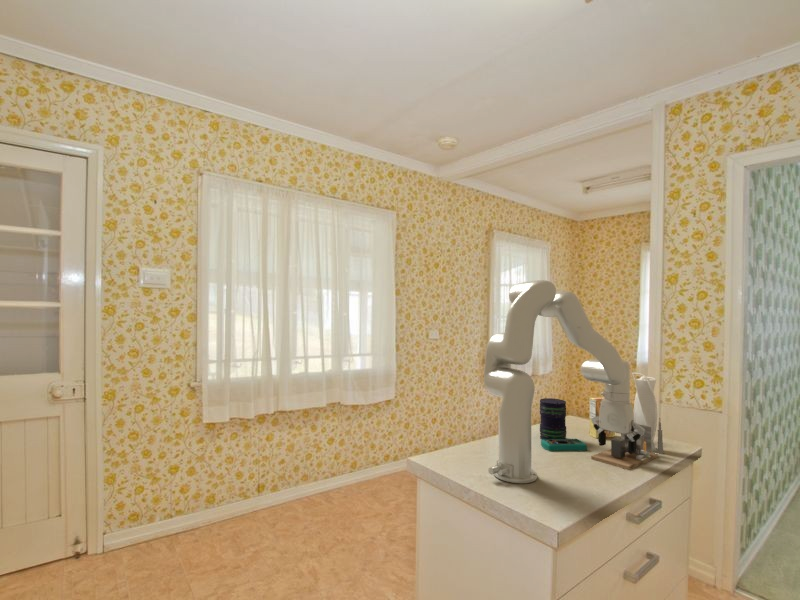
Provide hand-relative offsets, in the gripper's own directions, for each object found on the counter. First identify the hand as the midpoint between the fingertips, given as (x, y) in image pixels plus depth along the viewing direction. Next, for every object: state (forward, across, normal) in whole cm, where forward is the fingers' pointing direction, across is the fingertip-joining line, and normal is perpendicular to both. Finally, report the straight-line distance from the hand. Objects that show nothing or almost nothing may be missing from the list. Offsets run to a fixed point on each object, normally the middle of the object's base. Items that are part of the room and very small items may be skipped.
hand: (616, 448), depth 138 cm
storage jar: (+4, -27, +4) cm, 27 cm away
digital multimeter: (+5, -18, -2) cm, 19 cm away
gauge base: (+4, 0, +5) cm, 6 cm away
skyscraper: (+4, 0, +21) cm, 22 cm away
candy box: (+4, -18, +24) cm, 30 cm away
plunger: (+2, +2, +5) cm, 6 cm away
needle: (+2, +5, +8) cm, 10 cm away
